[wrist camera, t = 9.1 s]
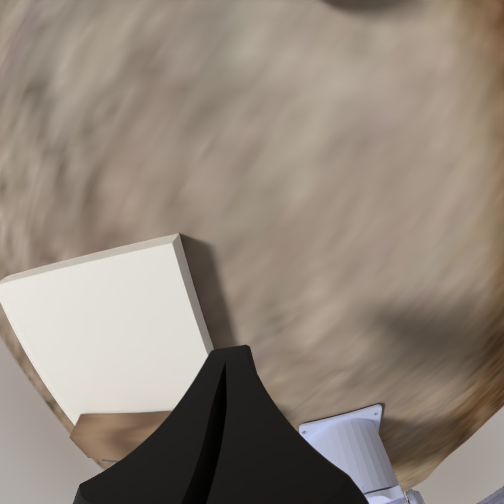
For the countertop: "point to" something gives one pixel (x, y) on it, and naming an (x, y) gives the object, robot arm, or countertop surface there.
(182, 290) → the stool seat
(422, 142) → the countertop surface
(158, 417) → the folding leg
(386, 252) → the countertop surface
